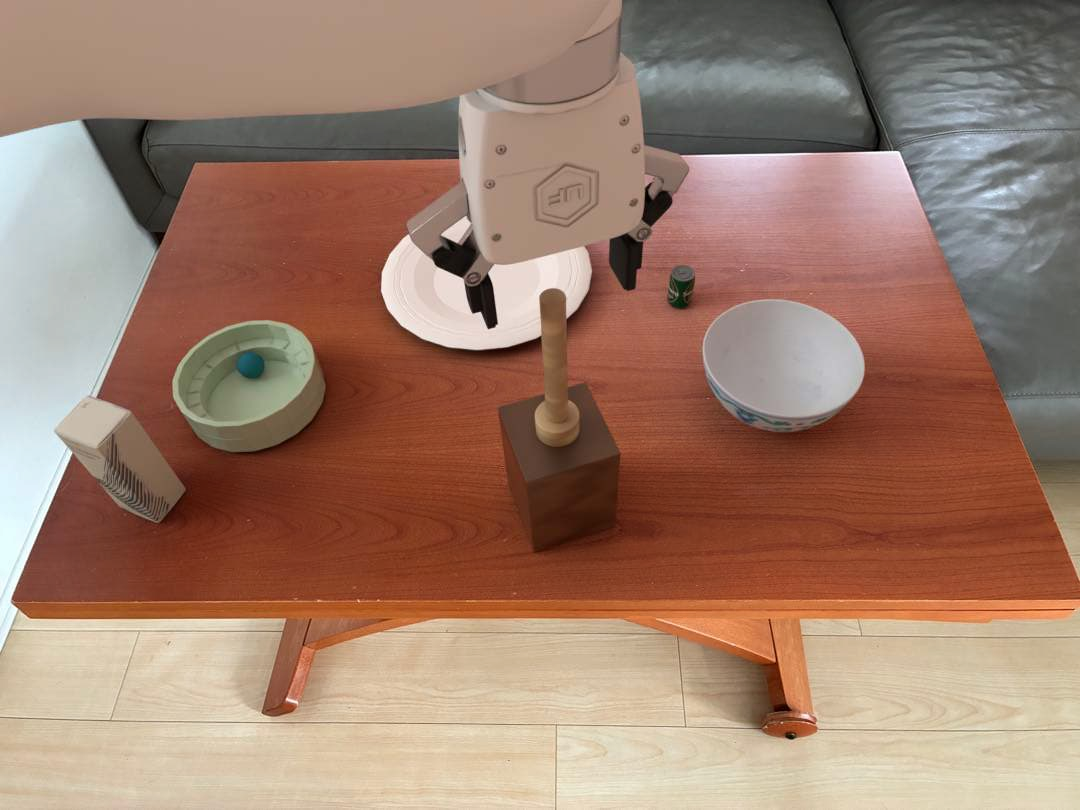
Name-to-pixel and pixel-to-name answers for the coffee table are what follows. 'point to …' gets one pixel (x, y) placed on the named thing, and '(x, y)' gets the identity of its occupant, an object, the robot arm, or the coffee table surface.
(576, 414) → the stick
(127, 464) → the box
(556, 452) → the stand
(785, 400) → the chinaware
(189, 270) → the coffee table surface
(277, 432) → the bowl
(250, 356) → the ball
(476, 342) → the plate
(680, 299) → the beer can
